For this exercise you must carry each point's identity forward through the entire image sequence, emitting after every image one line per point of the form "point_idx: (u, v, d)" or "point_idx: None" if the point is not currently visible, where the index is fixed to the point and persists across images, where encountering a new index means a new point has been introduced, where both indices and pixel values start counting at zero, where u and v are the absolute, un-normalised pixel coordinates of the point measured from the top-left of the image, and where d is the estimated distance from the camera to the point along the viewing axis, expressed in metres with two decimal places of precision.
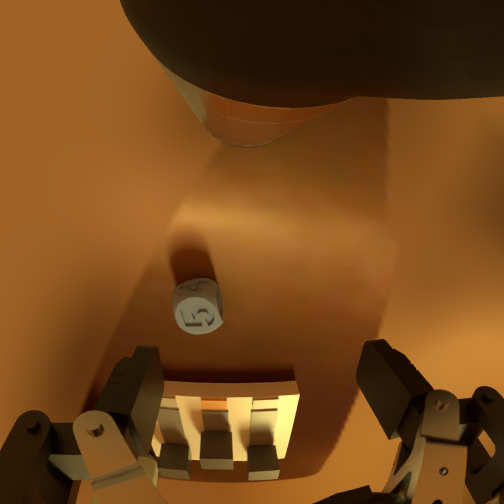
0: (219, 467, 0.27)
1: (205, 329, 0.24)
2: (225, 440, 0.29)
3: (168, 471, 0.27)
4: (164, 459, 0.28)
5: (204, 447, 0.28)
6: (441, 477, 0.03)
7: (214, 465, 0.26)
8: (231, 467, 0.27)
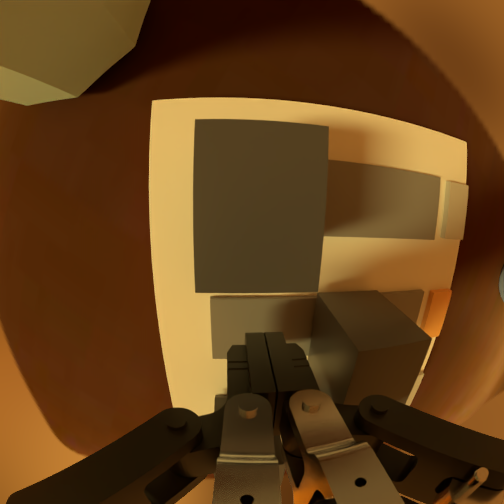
0: (355, 400, 0.08)
1: None
2: None
3: (294, 182, 0.06)
4: None
5: None
6: (361, 488, 0.03)
7: (378, 386, 0.08)
8: None
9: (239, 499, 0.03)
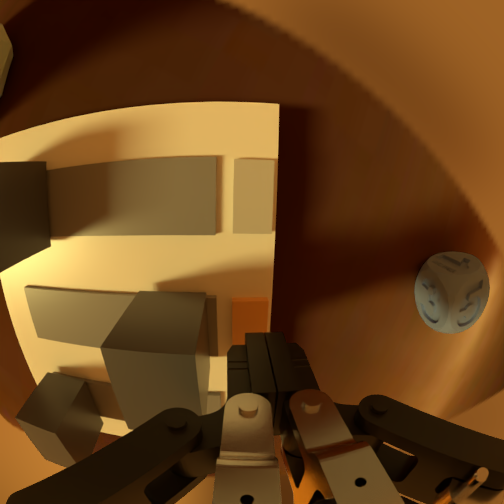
0: (128, 400, 0.08)
1: (454, 317, 0.13)
2: (207, 371, 0.11)
3: None
4: (7, 183, 0.07)
5: (201, 337, 0.09)
6: (361, 488, 0.03)
7: (146, 392, 0.08)
8: None
9: (239, 499, 0.03)
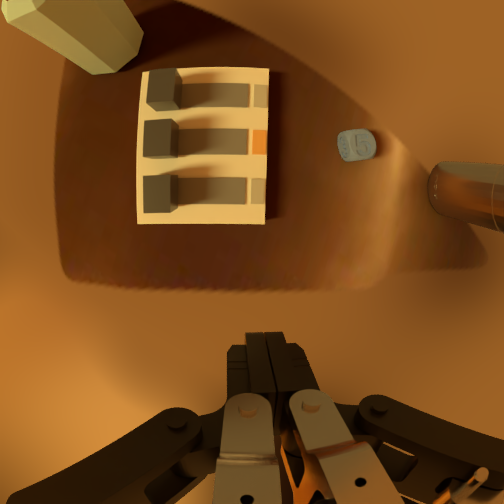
0: (147, 140, 0.26)
1: (353, 148, 0.31)
2: (175, 149, 0.29)
3: (167, 79, 0.24)
4: (178, 79, 0.26)
5: (174, 126, 0.27)
6: (361, 488, 0.03)
7: (154, 135, 0.26)
8: (148, 154, 0.26)
9: (239, 499, 0.03)
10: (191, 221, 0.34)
